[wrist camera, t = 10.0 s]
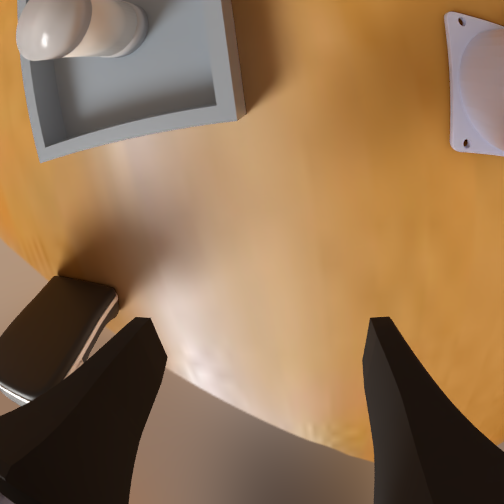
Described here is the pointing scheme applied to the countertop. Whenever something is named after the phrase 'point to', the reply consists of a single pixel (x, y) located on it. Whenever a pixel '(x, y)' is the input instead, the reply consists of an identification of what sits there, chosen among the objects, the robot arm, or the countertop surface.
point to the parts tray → (139, 81)
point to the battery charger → (53, 336)
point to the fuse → (80, 29)
